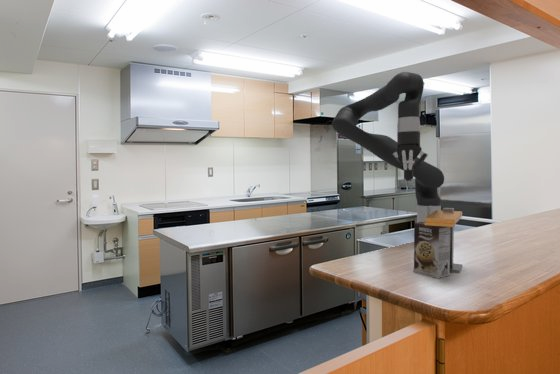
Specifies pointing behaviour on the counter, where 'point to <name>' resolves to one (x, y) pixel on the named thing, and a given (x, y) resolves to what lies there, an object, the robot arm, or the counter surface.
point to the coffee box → (431, 250)
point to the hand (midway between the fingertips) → (408, 180)
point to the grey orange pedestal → (448, 220)
